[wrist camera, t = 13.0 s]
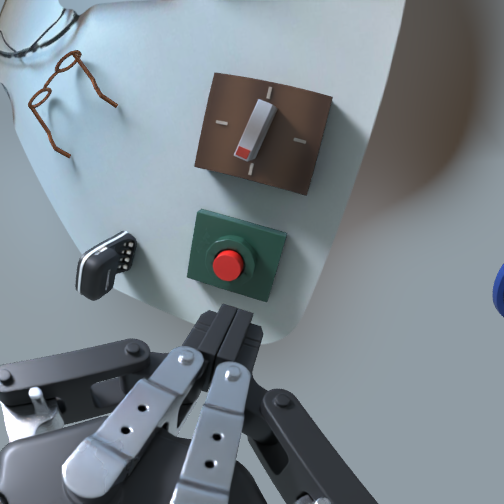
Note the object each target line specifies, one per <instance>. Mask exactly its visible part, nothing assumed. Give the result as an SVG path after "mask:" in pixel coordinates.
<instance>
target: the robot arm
mask: <svg viewBox="0 0 504 504" xmlns="http://www.w3.org/2000/svg"><path fill="white" fill-rule="evenodd" d="M503 303H504V292H503ZM237 310H238V311H237ZM252 317H253V313H252V312H248V311H245V310H242V309H238V308H235V307H232V306H229V305H226V304H222V306H221V308H220V309H219V311H218V313H216V312H213V311H210V310H209V311H207V312H205V313H203V314H201V316H200V317H199V319H198V321H197V322H196V324H195V325H194V328H193V329H192V330H191V332H190V333H189V335H188V337H187V338H186V340H185V341H184V343H183V345H182V346H180V347H176V348H174V349H173V350H172V351H171V352H170V353H164V354H163V353H155V352H150V349H149V347H148V345H147V344H146V343H145V342H143V341H141V340H138V339H125V340H121V341H117V342H113V343H108V344H104V345H99V346H95V347H91V348H86V349H81V350H76V351H72V352H67V353H62V354H57V355H52V356H47V357H42V358H36V359H31V360H26V361H21V362H14V363H9V364H3V365H0V404H1V406H2V409H3V414H4V419H5V424H6V428H7V433H8V437H9V441H10V443H8V444H7V445H6V446H5V447H4V448H3V449H2V450H1V452H0V504H267V502H266V500H265V499H264V497H263V495H262V493H261V491H260V490H259V488H258V486H257V484H256V482H255V480H254V478H253V477H252V475H251V474H250V472H249V471H248V470H247V469H246V468H245V467H244V466H243V465H242V464H241V463H239V462H238V461H236V457H237V452H238V447H239V442H240V437H241V432H242V433H244V434H246V435H247V436H248V441H249V443H250V445H251V446H252V448H253V450H254V452H255V453H256V455H257V457H258V459H259V460H260V462H261V464H262V465H263V467H264V469H265V470H266V472H267V474H268V475H269V477H270V479H271V480H272V482H273V483H274V485H275V487H276V488H277V490H278V491H279V493H280V494H281V496H282V498H283V499H284V501H285V502H286V504H378V503H377V502H376V500H375V499H374V498H373V497H372V495H371V494H370V493H369V492H368V491H367V489H366V488H365V487H364V486H363V484H362V483H361V482H360V481H359V479H358V478H357V477H356V476H355V474H354V473H353V472H352V471H351V469H350V468H349V467H348V466H347V464H346V463H345V462H344V461H343V459H342V458H341V457H340V455H339V454H338V453H337V451H336V450H335V449H334V448H333V446H332V445H331V444H330V442H329V441H328V440H327V438H326V437H325V436H324V434H323V433H322V432H321V430H320V429H319V428H318V426H317V425H316V424H315V422H314V421H313V420H312V418H311V417H310V416H309V414H308V413H307V412H306V410H305V409H304V407H303V406H302V405H301V403H300V402H299V401H298V399H297V398H296V397H295V396H294V395H293V394H292V393H291V392H289V391H287V390H284V389H272V390H270V391H267V390H265V389H264V388H262V387H261V386H259V385H258V384H257V383H256V382H255V380H254V378H253V375H252V371H253V367H254V363H255V360H256V357H257V354H258V351H259V347H260V344H261V341H262V337H263V331H262V328H261V326H258V325H255V324H251V321H252ZM116 377H118V378H116ZM112 378H114V379H112ZM108 379H110V380H108ZM104 380H106V381H104ZM101 381H103V382H101ZM97 382H99V383H97ZM209 387H210V389H209ZM208 389H209V392H208V395H207V398H206V401H205V404H204V405H203V407H202V410H201V413H200V416H199V419H198V422H197V425H196V428H195V431H194V434H193V437H192V439H185V438H179V437H177V435H178V433H179V431H180V429H181V428H182V426H183V424H184V423H185V421H186V419H187V418H188V416H189V414H190V413H191V411H192V409H193V408H194V406H195V404H196V400H197V399H198V397H199V395H200V393H201V390H202V391H205V392H207V391H208ZM111 412H112V413H111ZM107 413H111V414H110V415H109V416H104V417H99V418H96V419H92V420H89V421H85V422H83V423H79V424H75V425H72V426H68V427H65V428H63V426H64V425H65V424H69V423H73V422H78V421H82V420H85V419H89V418H93V417H97V416H100V415H104V414H107Z"/></svg>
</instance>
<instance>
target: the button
mask: <svg viewBox="0 0 504 504" xmlns="http://www.w3.org/2000/svg"><path fill="white" fill-rule="evenodd" d="M243 266H244V263H243V259H242V257H241V256H240V255H239V254H238V253H237V252H235V251H233V250H225V251H222V252H221V253H220V254H219V255H218V256H217V257H216V259H215V260H214V262H213V270H214V272H215V274H216V275H217V276H218V277H219V278H220V279H222V280H225V281H232V280H235V279H236V278H237V277H238V276H239V275H240V273H241V271H242V269H243Z"/></svg>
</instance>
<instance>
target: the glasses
mask: <svg viewBox="0 0 504 504" xmlns="http://www.w3.org/2000/svg"><path fill="white" fill-rule="evenodd" d="M77 54H78V55H77ZM71 55H73V57H74V58H75V60H74V62H73V63H72V64H70V65H69V66H68V67H66V68H63V69H59V66H60V65H61V63H62V62H63V61H64V60H65V59H66V58H67V57H69V56H71ZM81 55H82V54H81V52H80V51H79V50H75V51H71V52H69V53H68V54H66V55H65V56H64V57H62V58H61V59H60V61H59V62H58V63H57V65H56V67H55V73H54V74H53V75H52V76H51V77H50V78H49V79H48V81H47V82H46V83H45V85H44V87H43V89H41V90H39V91H38V92H37V93H36V94H35V95H34V96H33V97H32V98H31V99H30V101H29V103H28V107H29V108H30V109H31V110H32V112H33V113H34V115H35V116H36V118H37V119H38V121H39V122H40V124H41V125H42V127H43V128H44V130H45V131H46V133H47V135H48V138H49V141H50V143H51V145H52V147H53V149H54V150H55V151H57V152H58V153H60V154H62V155H64V156H66V157H68V158H70V156H71V154H69V153H67V152H65V151H63V150H62V149H60V148H58V147H56V145H55V143H54V141H53V139H52V135H51V132H50V130H49V129H48V127H47V126H46V124H45V123H44V122H43V120H42V119H41V117H40V116H39V114H38V113H37V111H36V110H35V108H36V107H38V106H40V105H41V104H42V103H44V102H45V101H46V100H47V98H48V97H49V96H50V94H51V92H52V90H51V89H50V88H47V86H48V85H49V83H50V82H51V81H52V79H53V78H54V77H55V76H56V75H57V74H58V73H61V72H64V71H67V70H69V69H70V68H71V67H73V66H74V65H75V64H76V63H77V62H78V63H79V65H80V66H81V67H82V69H83V70H84V72H85V73H86V74H87V76H88V77H89V78H90V80H91V82H92V84H93V87H94V89H95V90H96V92H97V94H98V95H99V97H100V98H102V99H103V100H105V101H106V102H108V103H109V104H111V105H112V106H114V107H115V108H116V107H117V106H118V104H117V103H115V102H114V101H112V100H111V99H109V98H108V97H106V96H105V95H103V94H102V93H101V91H100V89H99V87H98V86H97V83H96V81H95V78H94V77H93V76H92V74H91V73H90V72H89V70H88V69H87V68H86V66H85V65H84V64H83V62H82V61H81V60H80V57H81ZM45 91H48V94H47V95H46V97H45V98H44V99H43V100H42V101H41V102H39V103H38V104H35V105H32V102H33V100H34V99H35V98H36V97H37V96H38V95H39V94H40V93H42V92H45Z"/></svg>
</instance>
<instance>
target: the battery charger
mask: <svg viewBox="0 0 504 504" xmlns="http://www.w3.org/2000/svg"><path fill="white" fill-rule="evenodd" d="M136 244H137V242H136V239H135V238H134V237H133V236H132V235H131V234H129V233H128V232H126V231H121V232H120V233H118V234H116V235H115V236H113V237H111V238H109V239H107V240H105V241H103V242H101V243H99V244H98V245H96V246H94V247H93V248H91V249H89V250H88V251H86V252H85V253H84V254H83V255H82V256H81V258H80V259H79V262H78V267H77V275H76V290H77V291H78V293H79V294H81V295H84V296H85V297H87V298H88V299H90V300H93V301H95V300H97V299H100V298H101V297H102V296H103V295H105V294H106V293H108V292H109V291H110V290H111V289H112V288H113V285H114V280H115V275H116V274H118V273H121V272H125V271H128V270H129V269H130V268H131V265H132V261H133V257H134V253H135V249H136Z"/></svg>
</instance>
